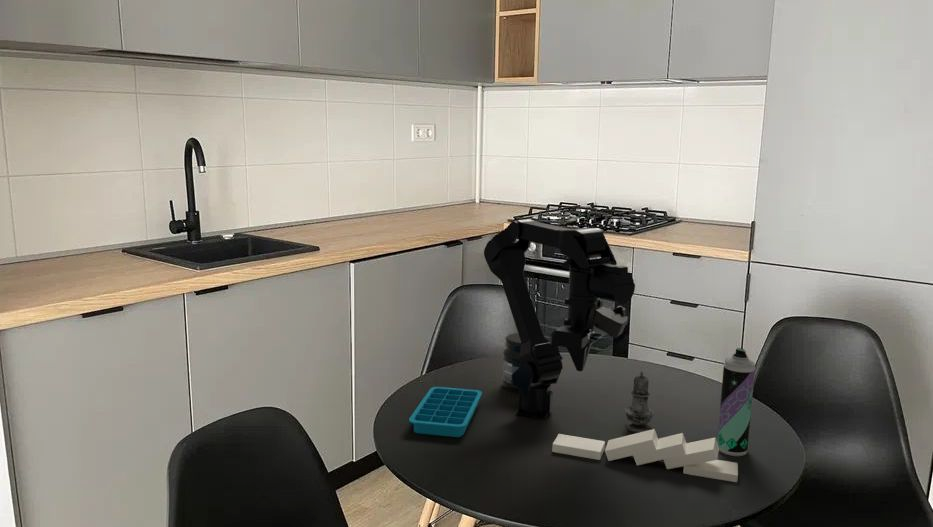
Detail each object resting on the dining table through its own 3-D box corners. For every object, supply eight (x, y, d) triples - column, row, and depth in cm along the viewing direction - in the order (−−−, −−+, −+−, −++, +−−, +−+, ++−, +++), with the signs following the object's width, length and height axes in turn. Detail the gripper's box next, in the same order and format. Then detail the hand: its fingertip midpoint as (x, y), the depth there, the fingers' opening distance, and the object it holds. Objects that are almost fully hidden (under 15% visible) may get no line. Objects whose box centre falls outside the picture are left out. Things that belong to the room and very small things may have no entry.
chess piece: (653, 434, 144) (657, 377, 141) (623, 432, 145) (627, 375, 143) (652, 423, 149) (656, 368, 147) (623, 420, 150) (626, 365, 148)
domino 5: (683, 466, 127) (737, 475, 125) (685, 454, 132) (737, 462, 129) (682, 476, 128) (736, 486, 125) (684, 464, 132) (736, 473, 130)
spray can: (712, 444, 140) (720, 345, 136) (739, 443, 140) (748, 344, 137) (724, 456, 134) (733, 354, 131) (752, 455, 135) (762, 353, 131)
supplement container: (551, 382, 173) (553, 334, 170) (540, 397, 163) (542, 346, 161) (508, 377, 176) (510, 329, 174) (496, 391, 166) (497, 341, 164)
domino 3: (632, 455, 130) (681, 443, 127) (635, 444, 135) (682, 432, 132) (636, 465, 130) (685, 454, 127) (639, 454, 135) (686, 442, 132)
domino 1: (552, 443, 135) (600, 452, 132) (558, 433, 140) (605, 441, 137) (552, 453, 136) (599, 462, 133) (558, 443, 140) (604, 451, 137)
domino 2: (604, 451, 132) (652, 439, 129) (608, 440, 136) (654, 428, 133) (608, 461, 132) (656, 449, 129) (612, 449, 137) (658, 438, 133)
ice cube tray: (407, 435, 142) (407, 421, 142) (431, 398, 162) (432, 386, 161) (464, 441, 140) (465, 427, 140) (482, 403, 160) (483, 390, 159)
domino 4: (663, 459, 129) (713, 449, 125) (666, 447, 133) (715, 437, 129) (667, 469, 129) (717, 459, 125) (670, 457, 133) (719, 447, 130)
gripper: (609, 309, 127) (605, 393, 130) (637, 289, 143) (633, 364, 146) (550, 301, 132) (547, 382, 135) (584, 283, 148) (581, 355, 151)
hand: (580, 370), depth 142 cm, fingers closed
